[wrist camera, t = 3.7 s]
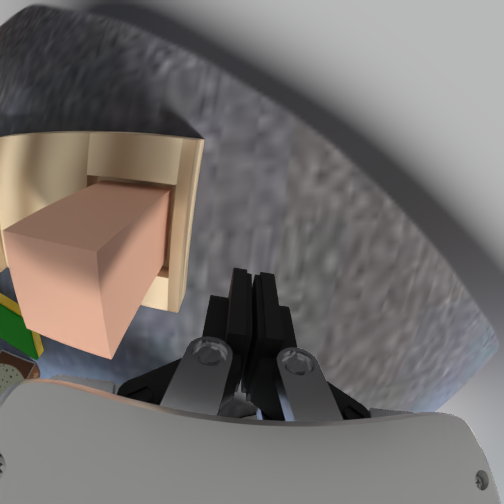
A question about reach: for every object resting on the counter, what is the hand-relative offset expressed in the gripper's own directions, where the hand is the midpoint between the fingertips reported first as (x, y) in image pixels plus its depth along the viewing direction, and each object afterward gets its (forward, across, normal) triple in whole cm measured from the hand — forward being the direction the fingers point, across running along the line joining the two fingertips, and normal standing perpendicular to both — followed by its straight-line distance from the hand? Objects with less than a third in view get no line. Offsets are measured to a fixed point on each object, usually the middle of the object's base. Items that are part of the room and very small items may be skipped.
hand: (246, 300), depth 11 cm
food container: (+9, +31, +29) cm, 43 cm away
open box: (+9, +14, 0) cm, 16 cm away
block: (+3, +8, 0) cm, 8 cm away
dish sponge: (+10, +30, +17) cm, 36 cm away
